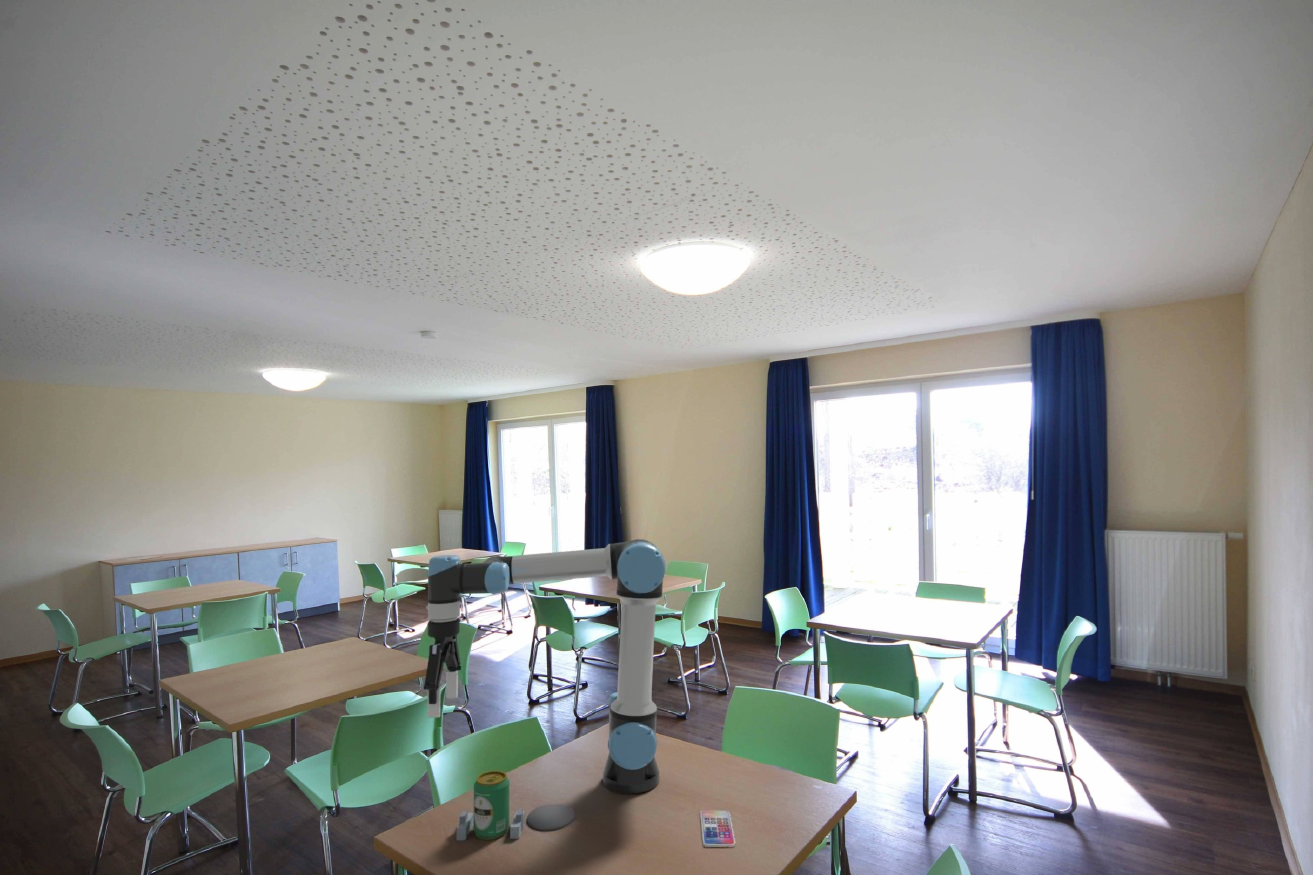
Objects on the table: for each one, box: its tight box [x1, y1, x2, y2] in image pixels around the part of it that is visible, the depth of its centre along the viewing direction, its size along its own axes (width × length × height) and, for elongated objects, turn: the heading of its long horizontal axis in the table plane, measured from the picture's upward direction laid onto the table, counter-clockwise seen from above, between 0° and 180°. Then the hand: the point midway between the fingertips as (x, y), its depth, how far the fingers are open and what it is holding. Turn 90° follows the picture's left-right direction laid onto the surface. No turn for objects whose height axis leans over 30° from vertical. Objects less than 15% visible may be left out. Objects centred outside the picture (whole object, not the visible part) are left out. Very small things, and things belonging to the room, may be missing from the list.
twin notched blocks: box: [456, 808, 526, 841], centre depth 146 cm, size 14×7×4 cm, turn 92°
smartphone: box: [699, 809, 736, 848], centre depth 145 cm, size 7×1×15 cm
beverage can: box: [472, 770, 510, 841], centre depth 146 cm, size 8×8×12 cm
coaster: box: [527, 803, 575, 832], centre depth 151 cm, size 11×11×1 cm
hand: (443, 707), depth 155 cm, fingers open, 13 cm apart
